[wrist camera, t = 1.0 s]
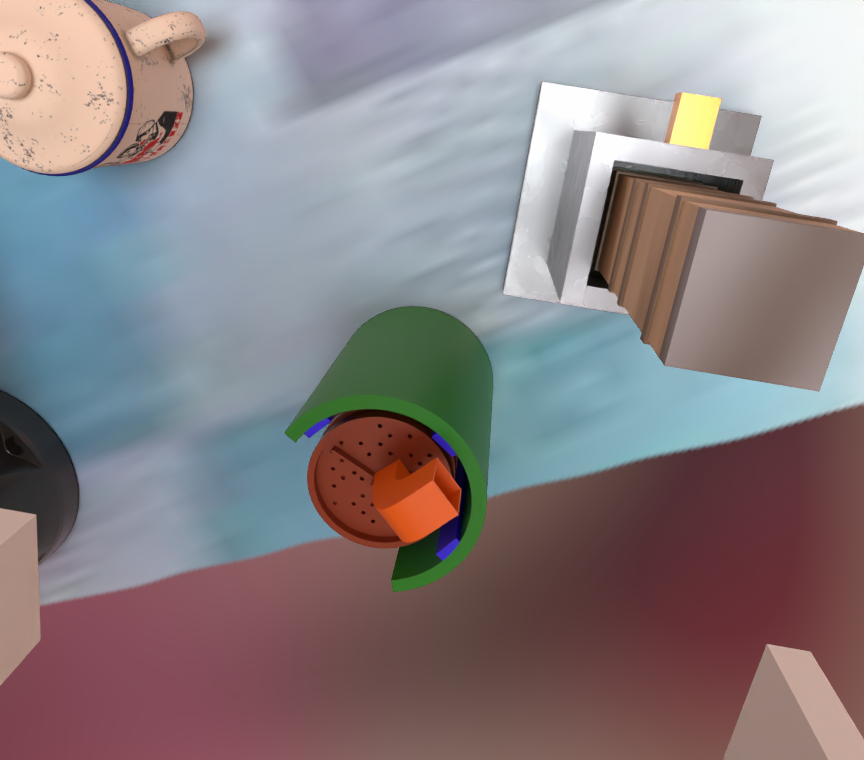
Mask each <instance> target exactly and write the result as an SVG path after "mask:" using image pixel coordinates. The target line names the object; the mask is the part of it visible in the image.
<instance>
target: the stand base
mask: <svg viewBox="0 0 864 760" xmlns="http://www.w3.org/2000/svg"><path fill="white" fill-rule="evenodd" d="M720 103H721V98H714V97H708V96H701V95H695V94H688V93H677V94H676V95H675V99H674V102H668V101H662V100H656V99H649V98H643V97H636V96H630V95H624V94H617V93H611V92H604V91H598V90H592V89H585V88H579V87H572V86H566V85H560V84H553V83H547V82H542V83H541V87H540V92H539V97H538V103H537V108H536V114H535V119H534V124H533V130H532V135H531V141H530V146H529V152H528V157H527V162H526V168H525V173H524V179H523V184H522V189H521V195H520V200H519V206H518V211H517V216H516V222H515V227H514V233H513V238H512V243H511V249H510V254H509V260H508V265H507V270H506V276H505V281H504V287H503V294H505V295H511V296H517V297H523V298H529V299H535V300H541V301H547V302H553V303H559V304H565V305H571V306H577V307H583V308H589V309H595V310H601V311H608V312H614V313H620V314H626V315H629V313H628V312H627V310H626V309H625V307H619V306H618V304H617V300H618V297H617V296H616V294H615V293H610V292H609V290H608V286H609V284H608V283H607V281H606V280H605V278H604V277H603V276H602V274H601V273H600V271H599V270H595V269H594V268H593V267H594V262H593V261H592V258H593V253H594V249H595V244H596V240H597V235H598V231H599V226H600V222H601V217H602V213H603V208H604V204H605V200H606V195H607V191H608V186H609V182H610V177H611V173H612V168H613V167H619V168H625V169H632V170H638V171H644V172H651V173H657V174H663V175H669V176H676V177H682V178H688V179H691V181H697V182H702V183H703V184H705V185H711V186H716V187H718V188H717V190H720V191H723V192H727V193H733V194H739V195H746V196H751V197H754V198H753V200H760V201H762V199H763V195H764V192H765V189H766V185H767V182H768V179H769V175H770V172H771V168H772V165H773V162H774V160H771V159H765V158H758V157H752V156H750V155H751V152H752V148H753V145H754V141H755V138H756V134H757V131H758V127H759V124H760V120H761V116H758V115H752V114H745V113H739V112H733V111H726V110H720V109H719V106H720Z"/></svg>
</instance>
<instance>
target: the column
mask: <svg viewBox="0 0 864 760" xmlns="http://www.w3.org/2000/svg"><path fill="white" fill-rule="evenodd" d="M717 188H718V187H716V186H711V185H705V184H703V183H702V182H697V181H691V179H688V178H682V177H676V176H669V175H663V174H657V173H651V172H644V171H638V170H632V169H625V168H619V167H613V168H612V173H611V177H610V182H609V186H608V191H607V195H606V200H605V204H604V208H603V213H602V217H601V222H600V226H599V231H598V235H597V240H596V244H595V249H594V253H593V258H592V261H593V262H594V267H593V268H594V269H595V270H599V271H600V273H601V274H602V276H603V277H604V278H605V280H606V281H607V283H608V284H609V286H608V290H609V292H610V293H615V294H616V296H617V297H618V300H617V304H618V306H619V307H625V309H626V310H627V312H628V313H629V315H630V316H631V318H632V319H633V321H634V322H635V323H636V325H637V326H638V328H639V329H640V331H641V332H642V334H641V337H640V339H641V340H642V342H643V343H644V344H649V345H651V347H652V348H653V350H654V351H655V353H656V354H657V355H658V357H659V358H660V360H661V361H662V363H663V364H664V366H670V367H676V368H682V369H688V370H694V371H700V372H706V373H712V374H718V375H724V376H730V377H736V378H742V379H748V380H754V381H760V382H766V383H772V384H778V385H784V386H790V387H796V388H802V389H808V390H814V391H820V388H821V385H822V382H823V379H824V377H825V374H826V371H827V368H828V365H829V362H830V360H831V357H832V354H833V351H834V348H835V345H836V343H837V340H838V337H839V334H840V331H841V328H842V326H843V323H844V320H845V317H846V314H847V311H848V309H849V306H850V303H851V300H852V297H853V294H854V292H855V289H856V286H857V283H858V280H859V277H860V274H861V272H862V269H863V266H864V233H860V232H857V231H854V230H850V229H847V228H844V227H840V226H837V225H836V224H837V221H834V220H831V219H826V218H820V217H813V216H807V215H801V214H797V213H794V212H790V211H787V210H784V209H780V208H777V207H776V205H777V204H775V203H772V202H766V201H760V200H753V198H754V197H751V196H746V195H739V194H733V193H727V192H723V191H720V190H717Z"/></svg>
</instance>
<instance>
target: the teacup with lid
mask: <svg viewBox="0 0 864 760" xmlns="http://www.w3.org/2000/svg"><path fill="white" fill-rule="evenodd" d="M205 39H206V31H205V29H204V27H203V24H202V22H201V20H200V19H199V18H198V16H196V15H195V14H193V13H190V12H184V11H180V12H172V13H168V14H164V15H161V16H158V17H155V18H152V19H151V18H150V17H148V16H147V15H145V14H143V13H141V12H139V11H136V10H133V9H131V8H127V7H124V6H121V5H118V4H115V3H111V2H108V1H105V0H0V157H2V158H3V159H5V160H7V161H8V162H10V163H12V164H14V165H16V166H18V167H20V168H22V169H25V170H28V171H30V172H34V173H37V174H42V175H48V176H68V175H74V174H78V173H82V172H84V171H87V170H89V169H91V168H95V167H105V166H114V165H123V164H132V163H140V162H145V161H149V160H152V159H154V158H157V157H159V156H161V155H162V154H164V153H165V152H167V151H168V150H169V149H171V148H172V147H173V146H174V145H175V144H176V143H177V141H178V140H179V139H180V137H181V136H182V134H183V133H184V131H185V129H186V127H187V124H188V122H189V119H190V115H191V111H192V103H193V87H192V80H191V75H190V71H189V68H188V65H187V62H186V60H185V57H187V56H189V55H191V54H192V53H194V52H195V51H196V50H198V49H199V48H200V47H201V46H202V44H203V43H204V41H205Z"/></svg>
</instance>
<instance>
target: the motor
mask: <svg viewBox="0 0 864 760" xmlns="http://www.w3.org/2000/svg"><path fill="white" fill-rule="evenodd" d="M492 395H493V374H492V368H491V364H490V360H489V358H488V355H487V353H486V351H485V349H484V347H483V345H482V344H481V342H480V341H479V339H478V338H477V337H476V335H475V334H474V333H473V332H472V331H471V330H470V329H469V328H468V327H467V326H466V325H464V324H463V323H462V322H460V321H459V320H457V319H456V318H454V317H452V316H450V315H448V314H446V313H444V312H441V311H438V310H435V309H431V308H426V307H400V308H395V309H391V310H388V311H385V312H383V313H380V314H378V315H376V316H375V317H373V318H371V319H370V320H368V321H367V322H366V323H364V324H363V325H362V326H361V327H360V328H359V329H358V330H357V331H356V332H355V333H354V335H353V336H352V337H351V339H350V340H349V342H348V343H347V345H346V346H345V347H344V349H343V350H342V352H341V353H340V355H339V356H338V357H337V359H336V360H335V362H334V363H333V365H332V366H331V367H330V369H329V370H328V372H327V373H326V374H325V376H324V377H323V379H322V380H321V382H320V383H319V384H318V386H317V387H316V389H315V390H314V392H313V393H312V394H311V396H310V397H309V399H308V400H307V402H306V403H305V404H304V406H303V407H302V409H301V410H300V412H299V413H298V414H297V416H296V417H295V419H294V420H293V422H292V423H291V424H290V426H289V427H288V429H287V430H286V432H285V434H286V435H287V436H288V437H289V438H291V439H292V440H293V441H294V442H295V443H296V442H297V440H298V439H299V438H300V437H301V436H302V435H303V434H305V435H306V436H307V437H309V438H310V437H311V436H312V435H314V434H315V433H316V432H318V431H319V430H320V429H322V428H323V427H324V426H326V425H327V424H328V423H330V424H329V426H328V427H327V429H326V431H325V432H324V434H323V436H322V438H321V440H320V441H319V443H318V444H317V446H316V448H315V450H314V452H313V454H312V456H311V459H310V462H309V466H308V473H307V482H308V489H309V494H310V497H311V500H312V502H313V504H314V506H315V508H316V510H317V512H318V513H319V515H320V516H321V517H322V519H323V520H324V521H325V522H326V523H327V524H328V525H329V526H330V527H331V528H332V529H333V530H335V531H336V532H337V533H339V534H340V535H342V536H343V537H345V538H347V539H349V540H351V541H353V542H356V543H358V544H362V545H365V546H369V547H374V548H397V547H399V551H398V555H397V560H396V563H395V567H394V571H393V575H392V579H391V582H392V587H393V591H394V592H397V591H405V590H410V589H415V588H418V587H421V586H424V585H427V584H429V583H432V582H434V581H436V580H438V579H440V578H441V577H443V576H445V575H446V574H448V573H449V572H450V571H452V570H453V569H454V568H455V567H456V566H458V565H459V564H460V563H461V562H462V561H463V560H464V559H465V558H466V556H467V555H468V554H469V553H470V551H471V550H472V548H473V546H474V545H475V543H476V541H477V540H478V537H479V535H480V533H481V530H482V527H483V524H484V519H485V514H486V503H487V485H488V467H489V449H490V431H491V413H492Z"/></svg>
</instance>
